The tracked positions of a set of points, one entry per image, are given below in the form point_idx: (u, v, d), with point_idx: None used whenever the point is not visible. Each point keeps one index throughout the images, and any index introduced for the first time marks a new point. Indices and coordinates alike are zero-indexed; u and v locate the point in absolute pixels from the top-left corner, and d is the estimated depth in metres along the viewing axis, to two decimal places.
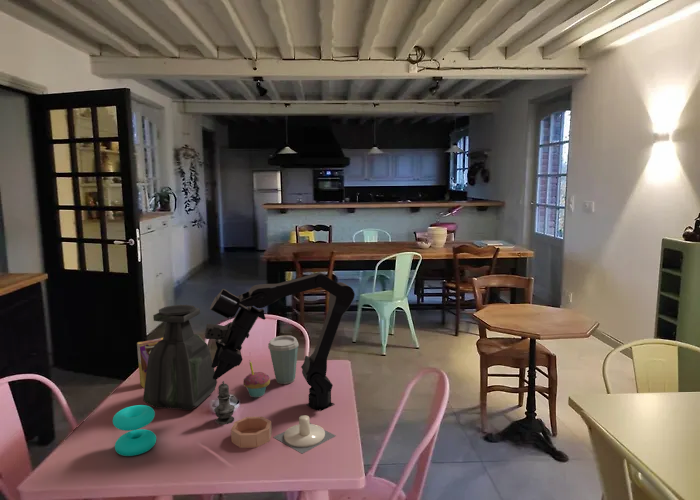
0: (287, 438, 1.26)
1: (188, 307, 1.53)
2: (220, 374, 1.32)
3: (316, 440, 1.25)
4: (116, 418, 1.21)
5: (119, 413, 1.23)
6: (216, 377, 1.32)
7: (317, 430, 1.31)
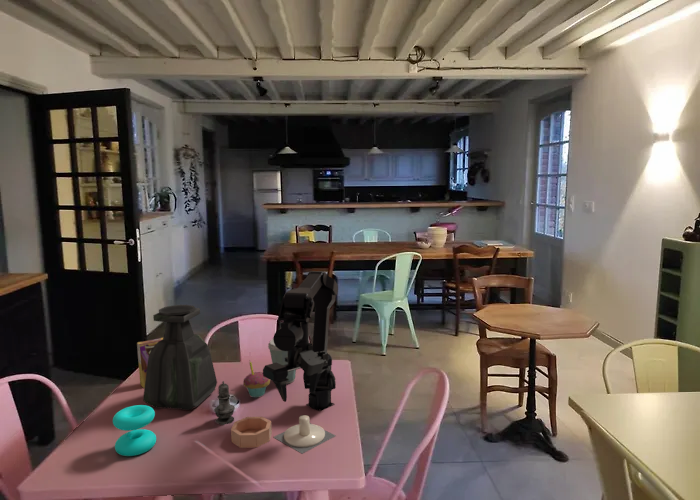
0: (287, 438, 1.26)
1: (188, 307, 1.53)
2: None
3: (316, 440, 1.25)
4: (116, 418, 1.21)
5: (119, 413, 1.23)
6: None
7: (317, 430, 1.31)
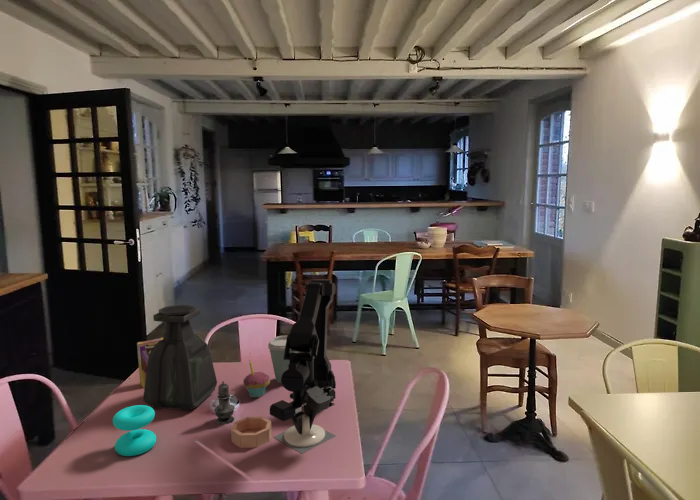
0: (287, 438, 1.26)
1: (188, 307, 1.53)
2: None
3: (316, 440, 1.25)
4: (116, 418, 1.21)
5: (119, 413, 1.23)
6: None
7: (317, 430, 1.31)
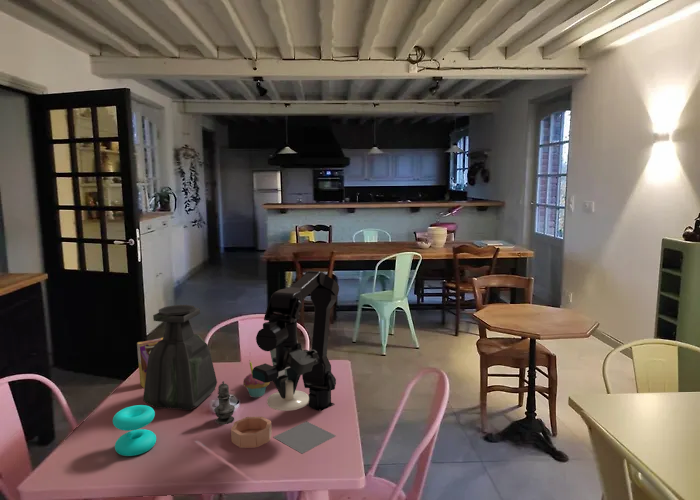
0: (270, 402, 1.25)
1: (188, 307, 1.53)
2: None
3: (300, 404, 1.24)
4: (116, 418, 1.21)
5: (119, 413, 1.23)
6: None
7: (301, 395, 1.29)
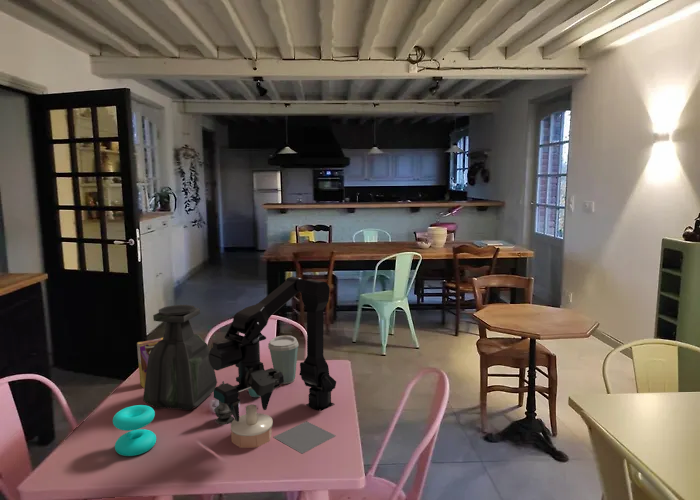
0: (233, 427, 1.26)
1: (188, 307, 1.53)
2: None
3: (262, 429, 1.24)
4: (116, 418, 1.21)
5: (119, 413, 1.23)
6: None
7: (265, 419, 1.30)
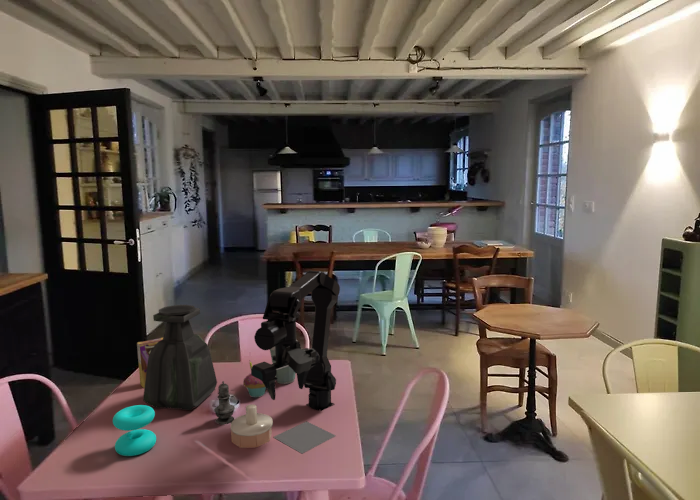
0: (233, 427, 1.26)
1: (188, 307, 1.53)
2: None
3: (262, 429, 1.24)
4: (116, 418, 1.21)
5: (119, 413, 1.23)
6: None
7: (265, 419, 1.30)
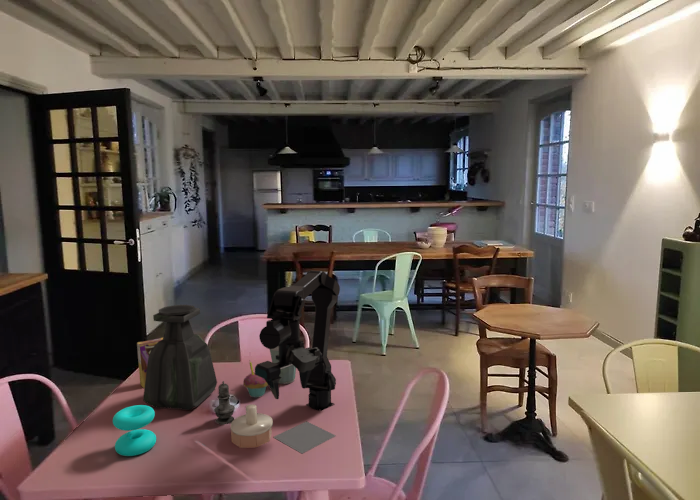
0: (233, 427, 1.26)
1: (188, 307, 1.53)
2: None
3: (262, 429, 1.24)
4: (116, 418, 1.21)
5: (119, 413, 1.23)
6: None
7: (265, 419, 1.30)
